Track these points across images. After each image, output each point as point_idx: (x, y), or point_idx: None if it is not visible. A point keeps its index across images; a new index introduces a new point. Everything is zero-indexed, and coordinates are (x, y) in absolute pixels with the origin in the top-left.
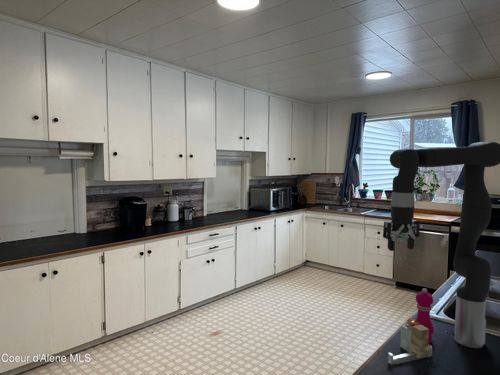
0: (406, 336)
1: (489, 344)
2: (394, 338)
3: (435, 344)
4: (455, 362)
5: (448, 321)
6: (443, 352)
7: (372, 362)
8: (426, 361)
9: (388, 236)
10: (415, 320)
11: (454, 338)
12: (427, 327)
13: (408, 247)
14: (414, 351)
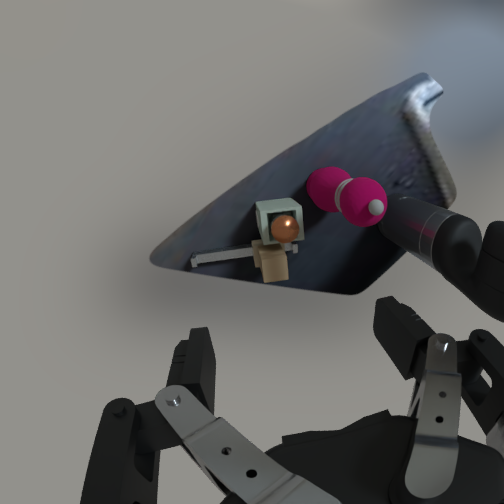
0: (260, 225)
1: None
2: (265, 167)
3: None
4: (318, 269)
5: (423, 138)
6: (325, 238)
7: (165, 244)
8: None
9: (138, 456)
10: (295, 227)
11: None
12: (330, 211)
13: (379, 309)
14: (253, 254)
